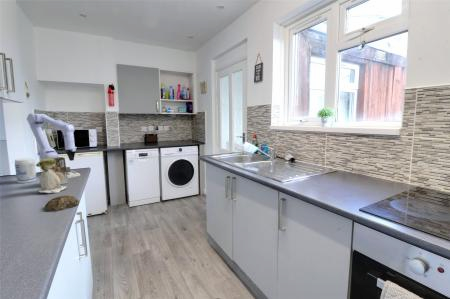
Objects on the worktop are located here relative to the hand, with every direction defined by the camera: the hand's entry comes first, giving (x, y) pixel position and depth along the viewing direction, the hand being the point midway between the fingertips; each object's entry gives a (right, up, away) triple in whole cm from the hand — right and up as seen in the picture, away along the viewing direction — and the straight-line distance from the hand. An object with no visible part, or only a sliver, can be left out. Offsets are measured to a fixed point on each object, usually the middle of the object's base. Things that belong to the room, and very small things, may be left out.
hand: (71, 160), depth 162 cm
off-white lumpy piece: (+14, -15, -36) cm, 41 cm away
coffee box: (+7, -14, -23) cm, 28 cm away
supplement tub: (-18, -13, -16) cm, 27 cm away
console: (-2, -11, -4) cm, 12 cm away
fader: (-3, -8, +1) cm, 9 cm away
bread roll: (+35, -19, -58) cm, 70 cm away
